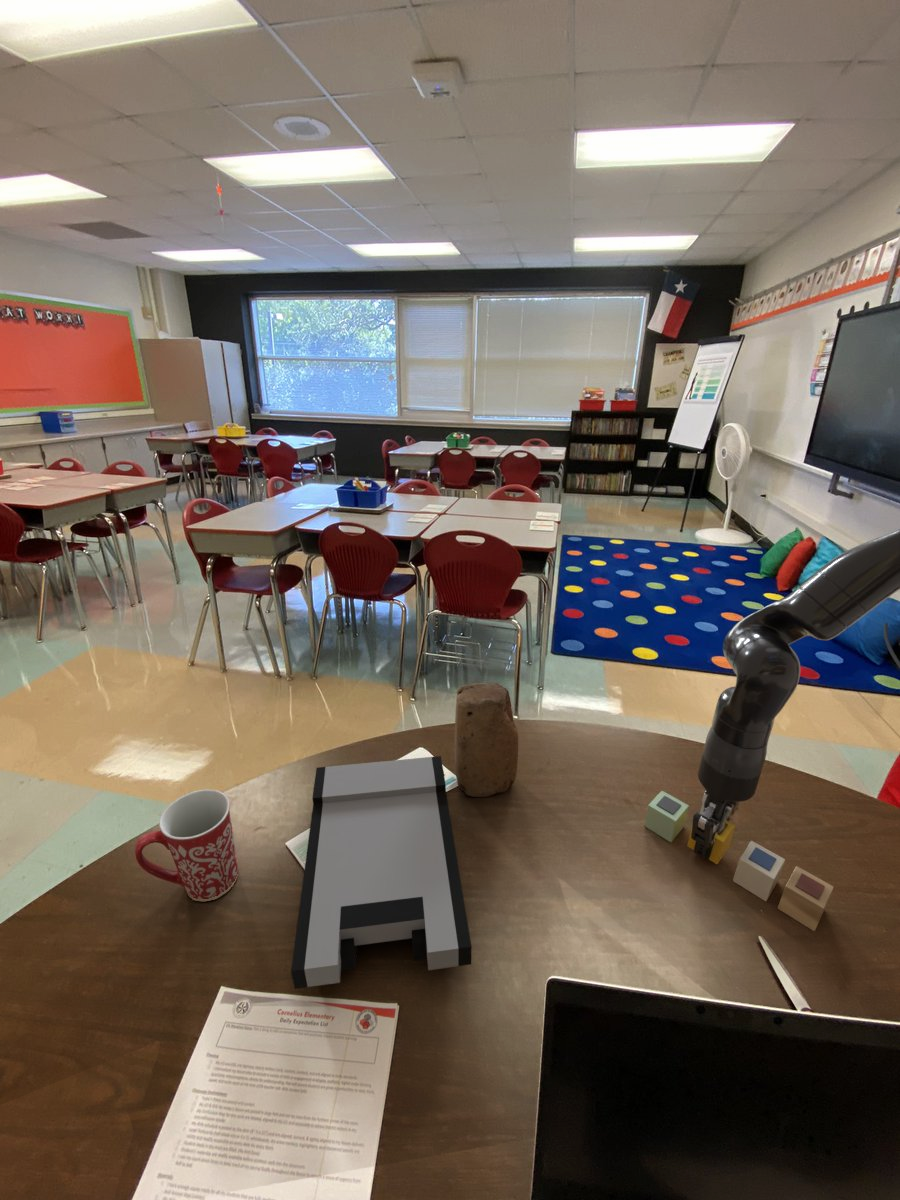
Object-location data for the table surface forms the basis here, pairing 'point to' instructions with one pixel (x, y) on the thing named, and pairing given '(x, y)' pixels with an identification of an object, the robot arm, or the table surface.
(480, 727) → the block
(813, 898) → the block
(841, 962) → the table surface
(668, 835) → the block
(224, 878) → the mug
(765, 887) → the block
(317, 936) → the grey notched sloped slab
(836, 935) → the table surface
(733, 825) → the yellow block
